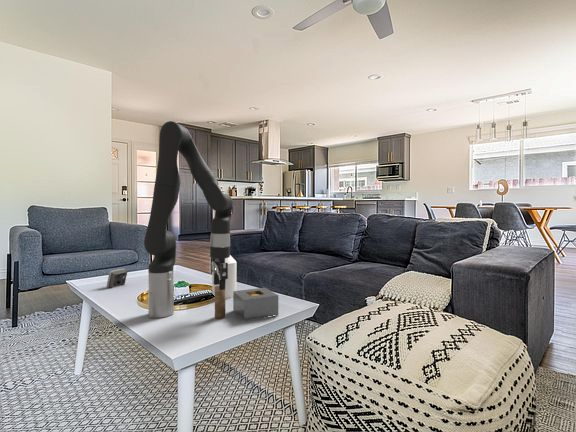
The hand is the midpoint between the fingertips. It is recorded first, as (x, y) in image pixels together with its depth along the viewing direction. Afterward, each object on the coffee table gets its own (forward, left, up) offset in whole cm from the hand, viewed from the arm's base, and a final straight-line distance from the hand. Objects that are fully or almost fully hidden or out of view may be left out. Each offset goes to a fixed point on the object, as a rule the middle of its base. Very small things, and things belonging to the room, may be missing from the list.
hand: (219, 287), depth 125 cm
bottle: (+10, +31, -12) cm, 35 cm away
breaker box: (+14, -1, -12) cm, 19 cm away
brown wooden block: (0, 0, -12) cm, 12 cm away
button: (+14, -1, -11) cm, 18 cm away
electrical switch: (-37, +75, -12) cm, 84 cm away
